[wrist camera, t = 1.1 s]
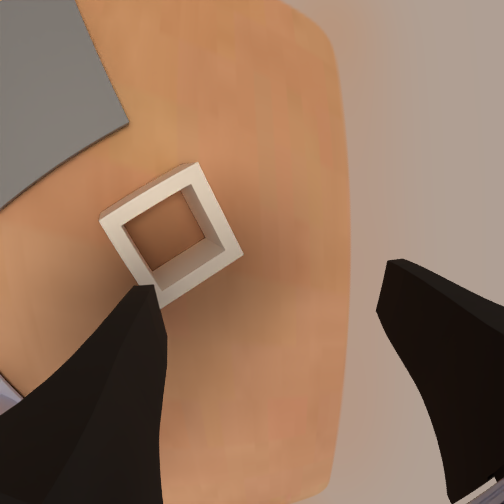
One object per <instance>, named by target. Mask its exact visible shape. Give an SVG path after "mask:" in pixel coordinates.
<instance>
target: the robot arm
mask: <svg viewBox="0 0 504 504" xmlns="http://www.w3.org/2000/svg"><path fill="white" fill-rule="evenodd" d="M376 312H377V314H378V317H379V319H380V321H381V324H382V326H383V329H384V331H385V333H386V335H387V337H388V338H389V340H390V342H391V344H392V345H393V347H394V349H395V350H396V352H397V354H398V355H399V357H400V359H401V360H402V362H403V364H404V365H405V367H406V368H407V370H408V372H409V374H410V376H411V377H412V379H413V381H414V382H415V384H416V386H417V388H418V390H419V392H420V394H421V396H422V399H423V400H424V404H425V406H426V408H427V411H428V414H429V416H430V419H431V422H432V425H433V428H434V431H435V434H436V437H437V441H438V445H439V449H440V453H441V457H442V461H443V466H444V472H445V479H446V487H447V495H448V498H449V500H450V502H451V504H454V503H455V502H457V501H459V500H460V499H462V498H464V497H465V496H467V495H468V494H470V493H471V492H473V491H475V490H476V489H478V488H479V487H480V486H482V485H483V484H485V483H486V482H488V481H489V480H491V479H492V478H493V477H495V479H496V481H497V483H496V484H494V485H493V486H492V487H490V488H489V489H487V490H486V491H485V492H483V493H482V494H480V495H479V496H477V497H476V498H474V499H473V500H472V501H470V502H468V503H467V504H504V306H501V305H499V304H496V303H494V302H492V301H489V300H487V299H485V298H483V297H481V296H479V295H477V294H475V293H473V292H471V291H469V290H467V289H465V288H463V287H461V286H459V285H457V284H455V283H453V282H451V281H449V280H447V279H445V278H443V277H441V276H440V275H438V274H436V273H434V272H432V271H430V270H428V269H426V268H424V267H421V266H419V265H417V264H415V263H413V262H410V261H408V260H405V259H397V260H389V261H387V265H386V270H385V274H384V279H383V283H382V288H381V292H380V296H379V300H378V304H377V308H376ZM166 369H167V334H166V330H165V326H164V323H163V319H162V315H161V311H160V307H159V303H158V299H157V295H156V291H155V287H154V284H151V285H138V286H133V288H132V289H131V290H130V291H129V292H128V293H127V294H126V295H125V297H124V298H123V299H122V300H121V301H120V302H119V304H118V305H117V306H116V307H115V308H114V310H113V311H112V312H111V313H110V314H109V315H108V317H107V318H106V319H105V320H104V321H103V322H102V324H101V325H100V326H99V327H98V328H97V329H96V331H95V332H94V333H93V334H92V335H91V336H90V337H89V338H88V339H87V340H86V341H85V342H84V344H83V345H82V346H81V347H80V348H79V349H78V350H77V351H76V352H75V353H74V354H73V355H72V356H71V357H70V358H69V359H68V360H67V361H66V362H65V363H64V364H63V365H62V366H61V367H60V368H59V369H58V370H57V371H56V372H55V373H54V374H53V375H51V376H50V377H49V378H48V379H47V380H46V381H45V382H43V383H42V384H41V385H40V386H38V387H37V388H36V389H35V390H33V391H32V392H31V393H30V394H28V395H27V396H26V397H25V398H23V397H21V396H20V395H19V394H18V393H17V392H16V391H15V390H14V389H13V388H12V387H11V385H10V384H9V383H8V382H7V381H6V380H5V379H4V378H3V377H2V376H1V375H0V504H163V499H162V489H161V476H160V458H159V430H160V420H161V410H162V402H163V393H164V385H165V377H166Z"/></svg>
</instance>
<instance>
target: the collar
mask: <svg viewBox="0 0 504 504" xmlns="http://www.w3.org/2000/svg"><path fill="white" fill-rule="evenodd" d="M179 190H181V192H182V194H183V196H184V198H185V200H186V202H187V204H188V206H189V208H190V210H191V211H192V213H193V215H194V217H195V219H196V221H197V223H198V225H199V226H200V228H201V230H202V232H203V234H204V236H205V238H204V239H203V240H201V241H199V242H198V243H196V244H195V245H193V246H191V247H190V248H188V249H187V250H185V251H183V252H182V253H180V254H179V255H177V256H176V257H174V258H172V259H171V260H169V261H168V262H166V263H165V264H163V265H162V266H160V267H158V268H157V269H155V270H154V271H151V269H150V268H149V266H148V264H147V263H146V261H145V260H144V258H143V256H142V255H141V253H140V252H139V250H138V248H137V247H136V245H135V243H134V242H133V240H132V238H131V237H130V235H129V233H128V232H127V230H126V228H125V227H124V225H123V224H125V223H126V222H128V221H129V220H131V219H133V218H134V217H136V216H137V215H139V214H141V213H142V212H144V211H145V210H147V209H149V208H150V207H152V206H154V205H155V204H157V203H159V202H160V201H162V200H164V199H165V198H167V197H169V196H171V195H172V194H174V193H176V192H177V191H179ZM99 222H100V224H101V225H102V227H103V229H104V231H105V232H106V234H107V236H108V237H109V239H110V240H111V242H112V244H113V245H114V247H115V249H116V250H117V252H118V253H119V255H120V257H121V258H122V260H123V261H124V263H125V264H126V266H127V267H128V269H129V270H130V272H131V274H132V275H133V277H134V278H135V280H136V281H137V283H138V284H139V285H151V284H154V287H155V291H156V295H157V299H158V303H159V307H160V309H162V308H163V307H165V306H166V305H168V304H169V303H171V302H172V301H174V300H175V299H177V298H178V297H180V296H182V295H183V294H185V293H186V292H188V291H189V290H191V289H192V288H194V287H195V286H197V285H198V284H200V283H201V282H203V281H204V280H206V279H208V278H209V277H211V276H212V275H214V274H215V273H217V272H218V271H220V270H221V269H223V268H224V267H226V266H227V265H229V264H230V263H232V262H233V261H235V260H237V259H238V258H240V257H241V256H243V255H244V254H243V252H242V250H241V248H240V246H239V244H238V242H237V240H236V238H235V236H234V234H233V232H232V230H231V228H230V226H229V224H228V222H227V220H226V218H225V216H224V214H223V212H222V210H221V208H220V206H219V204H218V202H217V200H216V198H215V196H214V194H213V191H212V189H211V187H210V185H209V183H208V181H207V179H206V177H205V175H204V173H203V171H202V169H201V167H200V165H199V163H198V162H194V163H187V164H181V165H179V166H178V167H176V168H174V169H172V170H170V171H168V172H167V173H165V174H163V175H161V176H160V177H158V178H156V179H154V180H153V181H151V182H149V183H147V184H146V185H144V186H142V187H141V188H139V189H137V190H136V191H134V192H132V193H131V194H129V195H127V196H126V197H124V198H123V199H121V200H119V201H118V202H116V203H115V204H113V205H111V206H110V207H108V208H107V209H105V210H104V211H102V212H101V213H100V217H99Z"/></svg>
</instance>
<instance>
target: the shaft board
mask: <svg viewBox="0 0 504 504" xmlns="http://www.w3.org/2000/svg"><path fill="white" fill-rule="evenodd" d="M128 124H129V120H128V118H127V116H126V114H125V112H124V110H123V108H122V106H121V104H120V102H119V100H118V97H117V95H116V93H115V91H114V89H113V87H112V85H111V83H110V80H109V78H108V76H107V74H106V72H105V70H104V67H103V65H102V63H101V61H100V59H99V56H98V54H97V52H96V50H95V47H94V45H93V43H92V40H91V38H90V36H89V33H88V31H87V29H86V26H85V24H84V22H83V19H82V17H81V15H80V12H79V10H78V7H77V5H76V2H75V0H2V1H0V211H1V210H2V209H3V208H4V207H5V206H7V205H8V204H9V203H10V202H12V201H13V200H14V199H15V198H17V197H18V196H19V195H20V194H22V193H23V192H24V191H26V190H27V189H28V188H30V187H31V186H32V185H34V184H35V183H36V182H38V181H39V180H40V179H42V178H43V177H45V176H46V175H47V174H49V173H50V172H52V171H53V170H55V169H56V168H57V167H59V166H60V165H62V164H63V163H65V162H66V161H68V160H69V159H71V158H73V157H74V156H76V155H77V154H79V153H80V152H82V151H84V150H85V149H87V148H88V147H90V146H92V145H93V144H95V143H97V142H98V141H100V140H102V139H104V138H105V137H107V136H109V135H111V134H112V133H114V132H116V131H118V130H120V129H121V128H123V127H125V126H127V125H128Z"/></svg>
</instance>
